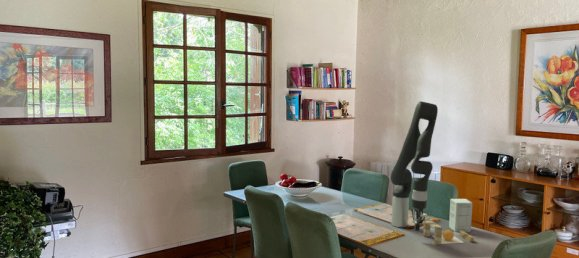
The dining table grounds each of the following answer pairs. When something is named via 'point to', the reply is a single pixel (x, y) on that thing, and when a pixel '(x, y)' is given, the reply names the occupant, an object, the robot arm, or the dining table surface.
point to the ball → (448, 235)
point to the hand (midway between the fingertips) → (416, 230)
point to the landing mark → (454, 240)
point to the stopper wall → (466, 236)
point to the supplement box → (460, 215)
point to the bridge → (437, 231)
